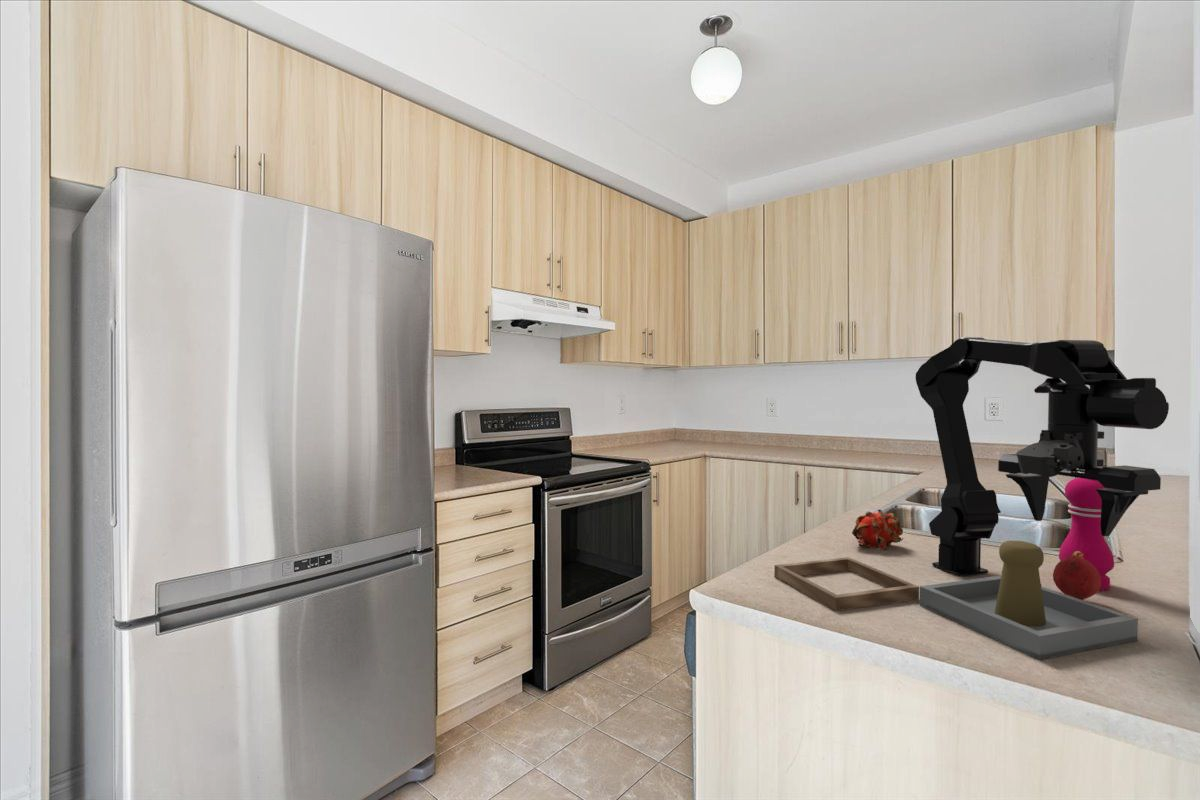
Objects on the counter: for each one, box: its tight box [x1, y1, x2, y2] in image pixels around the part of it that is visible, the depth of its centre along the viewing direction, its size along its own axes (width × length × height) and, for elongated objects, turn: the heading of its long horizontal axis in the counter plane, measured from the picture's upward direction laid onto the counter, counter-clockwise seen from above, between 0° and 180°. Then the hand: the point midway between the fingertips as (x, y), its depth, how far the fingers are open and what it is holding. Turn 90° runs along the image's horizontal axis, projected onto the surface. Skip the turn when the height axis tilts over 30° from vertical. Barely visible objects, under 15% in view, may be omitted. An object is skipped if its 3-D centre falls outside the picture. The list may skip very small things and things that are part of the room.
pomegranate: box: [1052, 551, 1101, 601], centre depth 88 cm, size 6×6×8 cm
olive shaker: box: [995, 540, 1046, 626], centre depth 81 cm, size 6×6×11 cm
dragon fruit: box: [851, 509, 904, 551], centre depth 118 cm, size 8×8×12 cm
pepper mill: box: [1058, 472, 1115, 591], centre depth 96 cm, size 7×7×20 cm
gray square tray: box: [919, 574, 1139, 661], centre depth 81 cm, size 18×18×3 cm
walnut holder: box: [774, 556, 920, 612], centre depth 95 cm, size 16×16×2 cm
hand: (1070, 527), depth 83 cm, fingers open, 9 cm apart
